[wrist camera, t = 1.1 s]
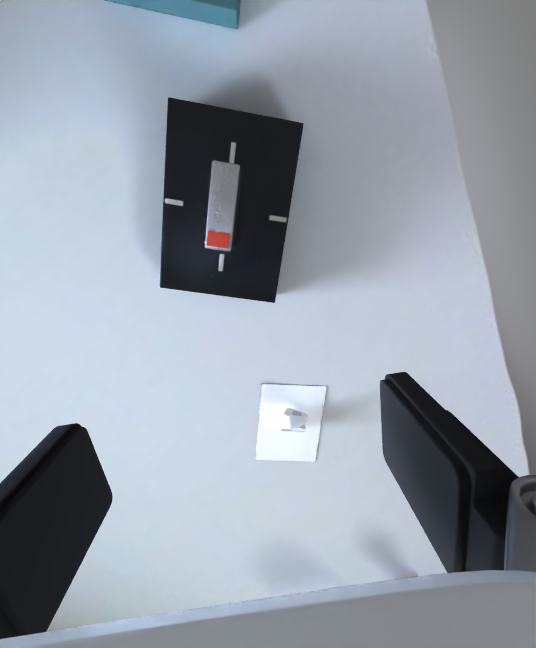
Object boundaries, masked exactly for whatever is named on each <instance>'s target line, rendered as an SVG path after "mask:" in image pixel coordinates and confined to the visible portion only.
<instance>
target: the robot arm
mask: <svg viewBox="0 0 536 648" xmlns="http://www.w3.org/2000/svg"><path fill="white" fill-rule="evenodd" d="M380 398H381V421H382V444H383V454H384V458H385V461H386V463H387V465H388V467H389V468H390V470H391V472H392V474H393V476H394V477H395V479H396V481H397V483H398V485H399V486H400V488H401V490H402V492H403V494H404V495H405V497H406V499H407V501H408V503H409V504H410V506H411V508H412V510H413V512H414V513H415V515H416V517H417V519H418V520H419V522H420V524H421V526H422V528H423V529H424V531H425V533H426V535H427V537H428V538H429V540H430V542H431V544H432V546H433V547H434V549H435V551H436V553H437V555H438V556H439V558H440V560H441V562H442V564H443V565H444V567H445V569H446V571H447V572H448V573H444V574H436V575H428V576H420V577H412V578H404V579H396V580H388V581H380V582H372V583H365V584H358V585H351V586H345V587H338V588H331V589H324V590H317V591H310V592H304V593H297V594H290V595H283V596H276V597H269V598H263V599H256V600H249V601H242V602H236V603H229V604H223V605H216V606H210V607H203V608H196V609H190V610H183V611H177V612H170V613H164V614H157V615H151V616H144V617H138V618H131V619H125V620H118V621H112V622H105V623H99V624H93V625H86V626H80V627H74V628H68V629H61V630H55V631H49V632H46V631H47V629H48V627H49V625H50V623H51V621H52V619H53V617H54V615H55V614H56V612H57V610H58V608H59V606H60V604H61V602H62V600H63V598H64V596H65V594H66V592H67V590H68V588H69V586H70V584H71V582H72V580H73V578H74V576H75V574H76V572H77V570H78V569H79V567H80V565H81V563H82V561H83V559H84V557H85V555H86V553H87V551H88V549H89V547H90V545H91V543H92V541H93V539H94V537H95V535H96V533H97V531H98V529H99V527H100V525H101V524H102V522H103V520H104V518H105V516H106V514H107V512H108V510H109V508H110V506H111V503H112V492H111V489H110V486H109V484H108V481H107V479H106V476H105V474H104V471H103V469H102V466H101V464H100V461H99V459H98V456H97V454H96V451H95V449H94V446H93V444H92V441H91V439H90V436H89V434H88V431H87V430H86V428H84V427H81V425H79V424H77V423H75V424H69V425H63V426H57V427H56V428H54V429H53V430H52V431H51V432H50V433H49V434H48V435H47V436H46V437H45V438H44V439H43V440H42V441H41V442H40V443H39V444H38V445H37V446H36V447H35V448H34V449H33V450H32V451H31V452H30V453H29V454H28V455H27V457H26V458H25V459H24V460H23V461H22V462H21V463H20V464H19V465H18V466H17V467H16V468H15V469H14V470H13V471H12V472H11V473H10V474H9V475H8V476H7V477H6V478H5V479H4V480H3V481H2V482H1V483H0V648H536V475H527V476H522V477H518V476H517V475H516V474H515V473H514V472H513V471H512V470H511V469H509V468H508V467H507V466H506V465H505V464H504V463H503V462H502V461H501V460H500V459H499V458H498V457H497V456H496V455H495V454H494V453H493V452H492V451H491V450H490V449H489V448H487V447H486V446H485V445H484V444H483V443H482V442H481V441H480V440H479V439H478V438H477V437H476V436H475V435H474V434H473V433H472V432H471V431H470V430H469V429H468V428H466V427H465V426H464V425H463V424H462V423H461V422H460V421H459V420H458V419H457V418H456V417H455V416H454V415H453V414H452V413H450V412H449V411H448V410H445V409H444V408H443V407H442V406H441V405H440V404H438V403H437V402H436V401H435V400H434V399H433V398H432V397H431V396H430V395H429V394H428V393H427V392H426V391H425V390H424V389H423V388H422V387H421V386H420V385H419V384H418V383H417V382H416V381H415V380H414V379H413V378H412V377H411V376H410V375H409V374H408V373H406V372H400V373H394V374H387V375H386V376H385V380H381V381H380Z"/></svg>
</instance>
